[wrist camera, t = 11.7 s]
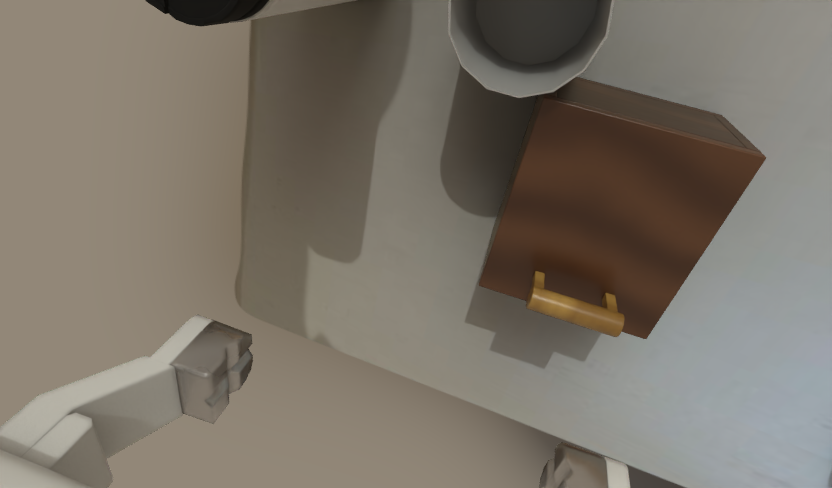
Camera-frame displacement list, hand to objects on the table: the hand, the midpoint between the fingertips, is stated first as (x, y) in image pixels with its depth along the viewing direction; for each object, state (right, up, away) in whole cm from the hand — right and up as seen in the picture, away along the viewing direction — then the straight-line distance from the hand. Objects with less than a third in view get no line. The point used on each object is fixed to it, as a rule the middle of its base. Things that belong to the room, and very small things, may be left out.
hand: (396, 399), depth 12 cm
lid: (+13, +5, +19) cm, 24 cm away
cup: (+9, +21, +21) cm, 31 cm away
